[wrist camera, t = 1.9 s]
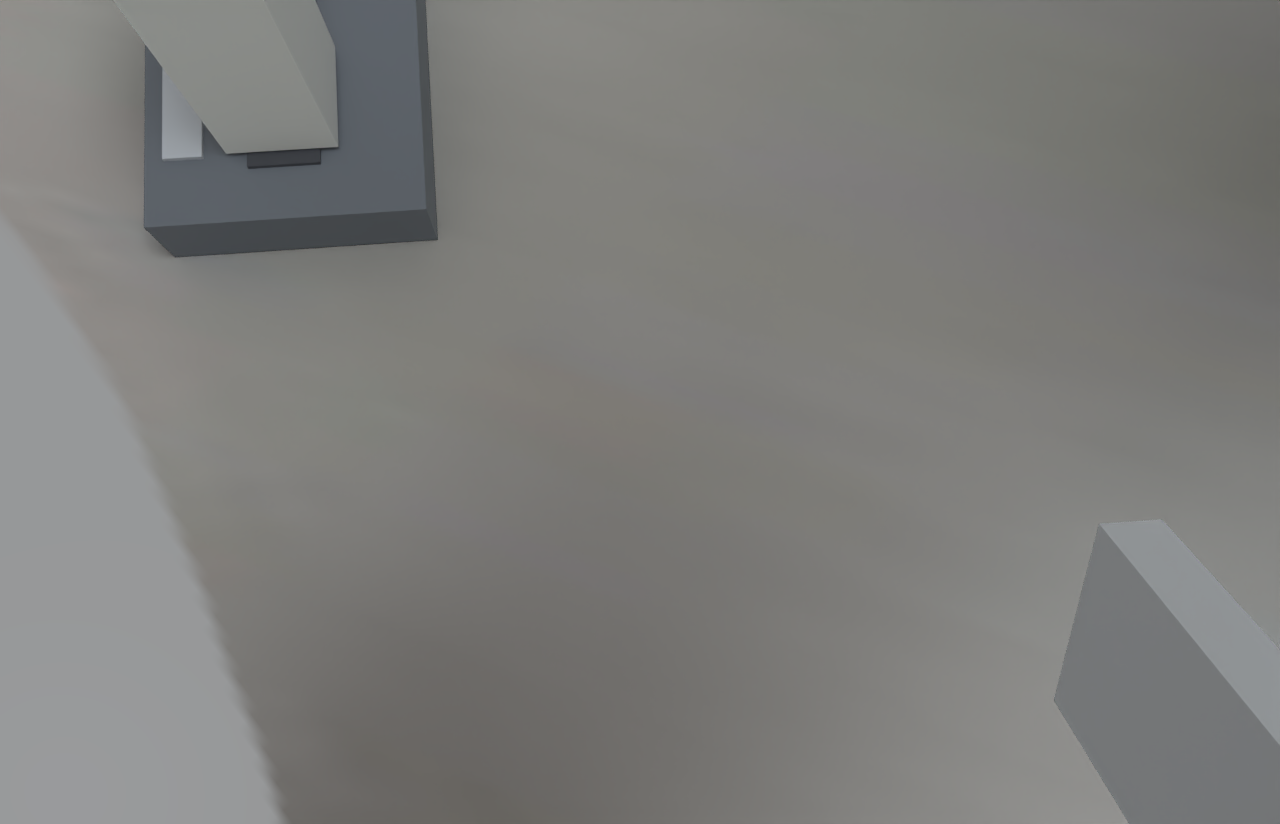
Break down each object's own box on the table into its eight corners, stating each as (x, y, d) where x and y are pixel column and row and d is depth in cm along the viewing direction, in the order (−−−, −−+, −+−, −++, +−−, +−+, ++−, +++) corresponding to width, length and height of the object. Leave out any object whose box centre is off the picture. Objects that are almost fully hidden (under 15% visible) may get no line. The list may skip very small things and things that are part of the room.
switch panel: (175, -151, 46) (145, -210, 43) (417, -162, 46) (404, -220, 43) (175, 256, 42) (141, 225, 39) (437, 239, 43) (425, 207, 40)
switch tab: (222, 50, 40) (88, -167, 30) (337, 44, 41) (246, -174, 30) (223, 156, 40) (85, -28, 29) (341, 149, 40) (248, -36, 29)
